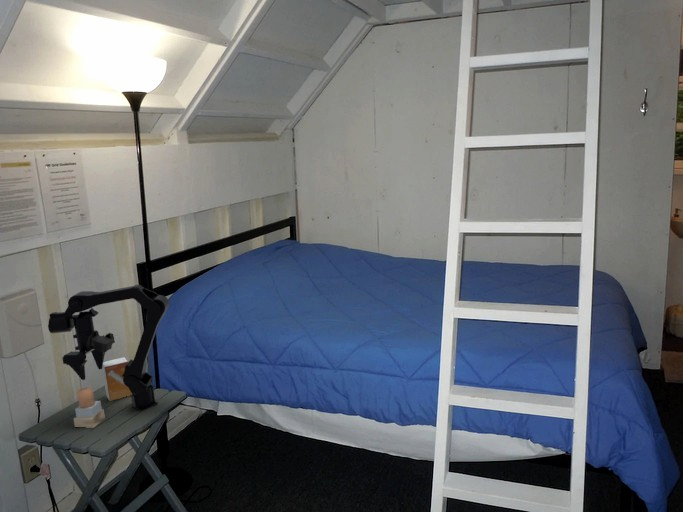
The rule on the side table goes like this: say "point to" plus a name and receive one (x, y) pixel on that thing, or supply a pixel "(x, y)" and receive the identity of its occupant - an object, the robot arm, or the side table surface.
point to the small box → (115, 379)
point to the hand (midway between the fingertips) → (92, 374)
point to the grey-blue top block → (88, 410)
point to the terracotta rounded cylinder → (85, 397)
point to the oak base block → (90, 420)
